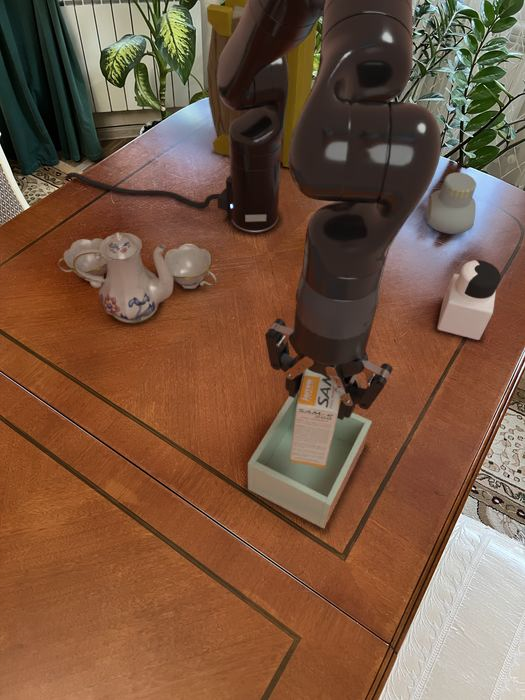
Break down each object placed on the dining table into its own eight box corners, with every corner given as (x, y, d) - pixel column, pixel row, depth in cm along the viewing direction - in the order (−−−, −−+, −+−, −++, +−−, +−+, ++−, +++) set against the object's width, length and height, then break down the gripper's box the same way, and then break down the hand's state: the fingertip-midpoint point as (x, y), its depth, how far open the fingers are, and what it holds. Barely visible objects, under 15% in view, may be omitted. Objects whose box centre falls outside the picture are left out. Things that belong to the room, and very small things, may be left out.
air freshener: (468, 244, 111) (485, 201, 103) (425, 238, 112) (438, 196, 104) (466, 208, 118) (481, 166, 110) (425, 203, 118) (437, 161, 110)
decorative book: (309, 145, 131) (321, 1, 107) (293, 171, 124) (303, 25, 100) (228, 127, 135) (223, -16, 111) (209, 152, 128) (199, 6, 105)
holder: (247, 489, 79) (247, 463, 73) (292, 415, 86) (295, 386, 80) (323, 529, 76) (330, 505, 69) (363, 448, 83) (372, 421, 77)
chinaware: (218, 268, 108) (215, 189, 96) (215, 329, 96) (211, 248, 84) (68, 268, 107) (46, 188, 95) (47, 330, 95) (18, 248, 83)
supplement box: (326, 469, 71) (339, 414, 61) (288, 462, 72) (295, 406, 62) (334, 414, 76) (348, 354, 66) (299, 407, 77) (307, 347, 67)
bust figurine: (483, 311, 100) (507, 260, 91) (479, 341, 96) (504, 291, 86) (442, 301, 101) (462, 250, 92) (436, 330, 97) (456, 280, 88)
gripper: (421, 308, 54) (387, 404, 68) (286, 256, 58) (279, 356, 72) (393, 364, 50) (362, 454, 64) (250, 304, 54) (249, 400, 68)
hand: (318, 402), depth 68 cm, fingers closed on supplement box, 5 cm apart
